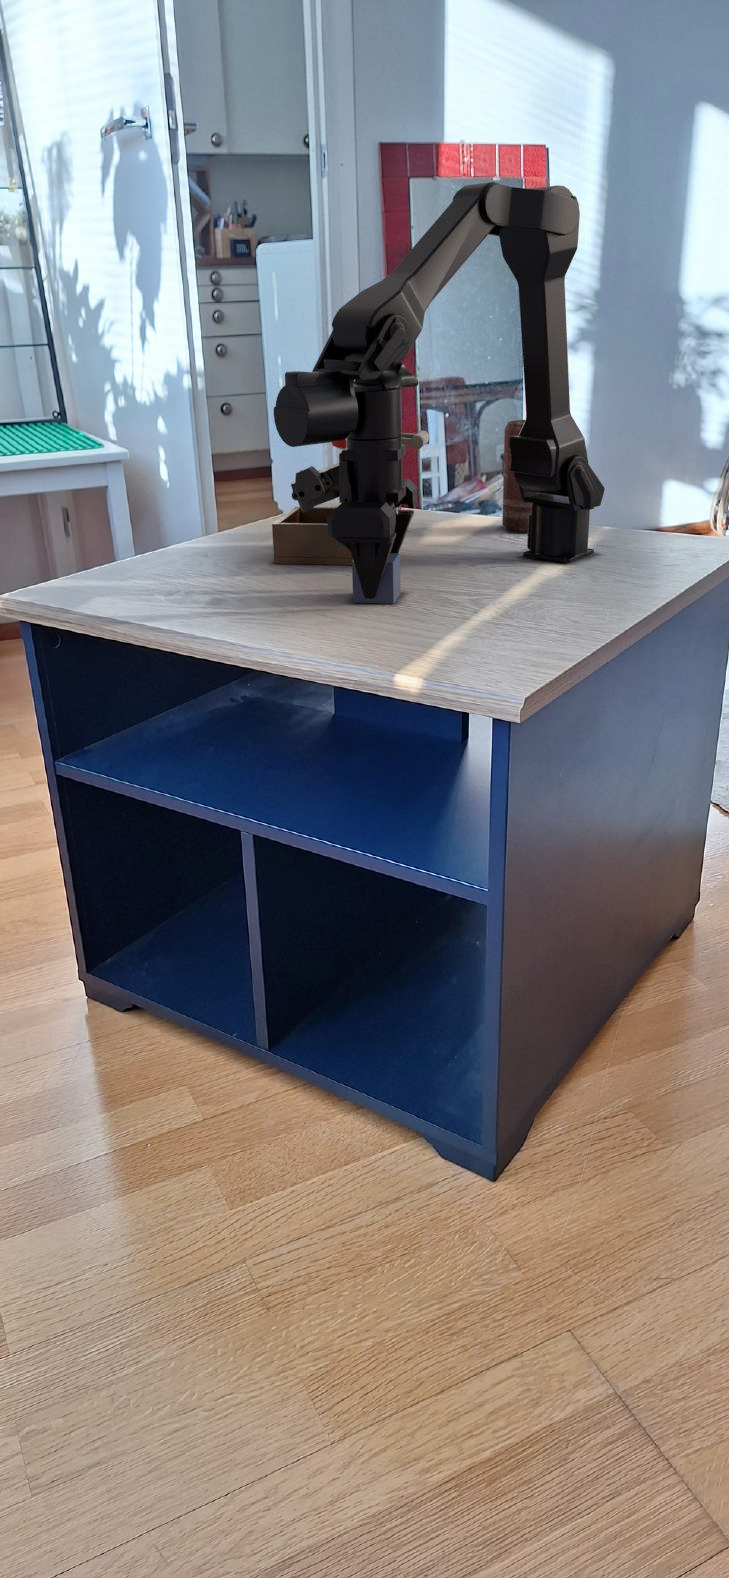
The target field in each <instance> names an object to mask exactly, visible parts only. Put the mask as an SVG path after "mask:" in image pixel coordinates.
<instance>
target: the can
mask: <svg viewBox="0 0 729 1578" xmlns="http://www.w3.org/2000/svg"><path fill="white" fill-rule="evenodd" d="M525 420H526V419H516V420H510V421H507V423H506V426H505V428H504V439H503V442H504V443H503V475H502V477H503V479H502V482H503V483H502V523H501V524H502V526H503V527H502V528H503V529H504V530H505V531H506V532H509V533H515V534H516V533H517V534H528V517H529V515H531V514H532V504H533V503H529V502H528V503H525V502H522V498H521V494H520V490H519V485H518V484H517V482H516V480H515V475H514V472H511V471H510V466H511V451H510V446H509V441H510V438H511V436H518V435H519V433H520V431H521V429H522V427H523V424H524V422H525Z"/></svg>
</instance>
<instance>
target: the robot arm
mask: <svg viewBox="0 0 729 1578" xmlns="http://www.w3.org/2000/svg"><path fill="white" fill-rule="evenodd" d="M580 214H581V212H580V203H579V200H578V198H577V196H576V195H574V194H573V193H572V192H571V190H570V188H568V187H566V186H565V185H556V184H555V185H549V186H547V185H546V186H539V187H531V188H525V187H516V186H509V185H506V184H500V183H498V182H495V181H488V182H480V183H471V184H466V185H464V186H462V187H461V188H459V190H457V191H456V192H455V194H454V196H453V198H452V201H451V203H450V204H449V205H448V206H447V207H446V208H445V210H444V211H443V212H442V213H441V214H440V216H439V217H438V218H437V219H436V220H435V222H433V224H432V225H431V226H430V227H429V228H428V229H427V230H426V232H425V233H424V234H423V235H422V236H421V238H420V239H419V240H417V242H416V243H415V245H413V247H412V248H411V249H410V250H409V252H408V253H406V255H405V256H404V257H403V259H402V260H401V261H400V262H399V263H398V264H397V265H396V267H395V268H394V269H393V270H392V271H391V272H390V274H388V275H387V276H386V277H384V278H383V279H382V280H380V281H378V282H376V283H374V284H372V285H370V286H368V287H366V288H365V289H363V290H361V291H359V293H357V294H356V295H355V296H353V297H352V298H351V299H350V300H348V301H347V302H346V303H345V304H343V305H342V306H341V307H340V308H338V310H337V312H336V314H335V315H334V316H333V319H332V322H331V327H332V331H331V333H330V335H329V336H328V339H327V341H326V342H325V345H324V347H323V349H322V351H321V353H320V355H319V356H318V358H317V360H316V362H315V364H314V367H313V368H312V371H303V370H302V371H299V370H291V371H286V372H285V373H284V386H282V388H281V389H280V390H279V392H278V394H277V396H276V401H275V406H273V421H274V424H275V429H276V431H277V433H278V436H279V437H280V439H281V441H282V442H283V443H284V444H285V445H287V446H288V447H291V448H297V447H304V446H312V445H314V446H315V445H321V444H329V443H332V442H337V441H342V440H344V439H346V448H345V449H343V450H342V449H341V452H339V454H338V463H334V464H332V465H330V466H329V465H328V466H326V467H324V468H321V469H319V470H317V468H316V467H314V466H313V465H311V466H308V467H307V468H305V469H301V470H298V471H297V472H296V473H295V478H294V479H295V481H293V482H291V483H290V487H291V489H292V493H291V499H292V500H293V501H297V503H298V505H299V506H298V507H300V508H301V511H302V512H306V511H309V510H312V509H313V507H318V506H320V505H322V504H324V503H327V502H330V501H332V500H336V499H338V498H339V501H338V502H339V505H338V506H336V507H337V508H336V509H335V510H334V511H333V512H332V513H331V514H330V515H329V516H328V517H327V520H328V536H330V537H333V538H334V539H335V541H336V542H340V543H341V544H342V545H344V546H345V547H346V548H347V549H348V550H349V551H350V552H351V555H352V558H353V561H354V564H355V567H356V571H357V574H358V578H359V581H360V584H361V588H362V591H363V595H364V597H365V598H366V599H374V598H375V597H376V594H377V591H378V588H379V585H380V582H381V579H382V576H383V573H384V570H385V567H386V564H387V561H388V558H389V555H390V553H400V551H401V547H402V545H403V542H404V539H405V537H406V534H407V533H408V529H409V527H410V524H411V521H412V519H413V517H414V515H415V510H414V509H415V508H416V507H417V506H418V486H416V484H415V483H414V482H413V481H412V480H411V479H410V478H403V457H404V456H405V455H406V453H407V452H406V448H407V447H406V445H405V444H402V433H403V424H402V423H403V422H402V419H403V418H402V416H403V415H402V414H403V413H402V410H403V409H402V408H403V407H402V389H403V388H404V389H406V388H416V387H418V386H419V379H418V378H417V377H416V376H415V375H414V374H413V373H411V372H410V371H409V370H408V368H407V367H406V365H405V363H404V362H403V361H404V360H405V359H406V358H407V356H408V354H409V353H410V351H411V349H412V348H413V346H414V344H415V343H416V341H417V339H418V337H419V336H420V334H421V333H422V331H423V327H424V321H425V313H426V311H427V309H428V308H429V306H430V305H431V303H432V302H433V301H434V299H436V297H437V296H438V295H439V293H440V292H441V291H442V290H443V289H444V287H446V285H447V284H449V282H450V281H451V279H452V278H453V277H454V276H455V274H456V273H457V272H458V271H459V270H460V269H461V268H462V266H463V265H464V264H465V263H466V261H468V259H469V258H470V257H471V255H472V254H474V252H475V251H476V250H477V248H478V247H479V246H480V245H481V243H483V242H484V240H485V239H486V238H487V237H488V235H489V236H494V237H495V236H496V237H498V238H499V244H500V248H501V254H502V258H503V260H504V261H505V264H506V265H507V267H508V268H509V271H510V272H511V273H512V275H513V277H514V278H515V280H516V282H517V286H518V287H517V288H518V300H519V317H520V319H519V320H520V335H521V336H520V337H521V349H522V351H521V353H522V366H523V383H524V384H523V385H524V400H525V419H524V420H525V422H524V424H523V427H522V429H521V431H520V433H519V435H518V436H511V438H510V441H509V446H510V451H511V466H510V471H511V472H514V475H515V480H516V482H517V484H518V485H519V490H520V494H521V498H522V502H525V503H528V502H529V503H533V504H532V514H531V515H529V517H528V533H527V541H526V542H527V545H526V546H527V549H528V550H526V551H523V552H522V556H523V557H525V558H532V559H539V560H545V561H546V560H547V561H552V562H560V563H572V562H574V561H577V560H580V559H582V558H585V557H588V556H590V555H593V554H594V553H595V549H594V548H589V533H590V532H589V531H590V515H591V510H594V509H595V508H596V507H600V506H601V504H602V501H603V498H604V497H603V496H604V494H605V490H606V489H605V486H604V485H603V483H602V481H601V480H600V479H599V477H598V476H597V474H596V473H595V472H594V469H593V468H592V467H591V465H590V464H589V458H588V451H587V446H586V438H585V436H584V435H583V433H582V431H581V430H580V428H579V426H578V424H577V423H576V421H575V419H574V418H573V416H572V414H571V413H572V412H571V403H570V402H571V398H570V377H569V355H568V329H567V305H566V283H565V281H566V275H567V272H568V270H569V268H570V266H571V264H572V262H573V259H574V257H575V255H576V253H577V250H578V247H579V233H580V232H579V231H580ZM402 505H407V508H408V509H402Z"/></svg>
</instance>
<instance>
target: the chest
mask: <svg viewBox="0 0 729 1578" xmlns="http://www.w3.org/2000/svg"><path fill="white" fill-rule="evenodd" d="M337 507H338V506H314V507H313V509H312V510H309V511H306V512H302V511H301V508H300V506H295V507H293V508H292V509H291V510H289V511H288V512H286V513H285V514H283V515H282V516H281V517H280V518H278V519H277V520H276V521H274V522H273V523H272V524H271V532H272V533H271V534H272V547H273V548H272V549H273V563H274V565H275V564H277V565H278V564H279V565H281V564H282V565H327V566H328V565H329V566H335V565H336V566H352V561H353V558H352V555H351V552H350V551H349V550H348V549H347V548H346V547H345V546H344V545H342V544H341V543H340V542H336V541H335V539H334V538H333V537H330V536H328V520H327V517H328V516H329V515H330V514H331V513H332V512H333V511H334V510H335V509H336V508H337Z"/></svg>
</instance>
